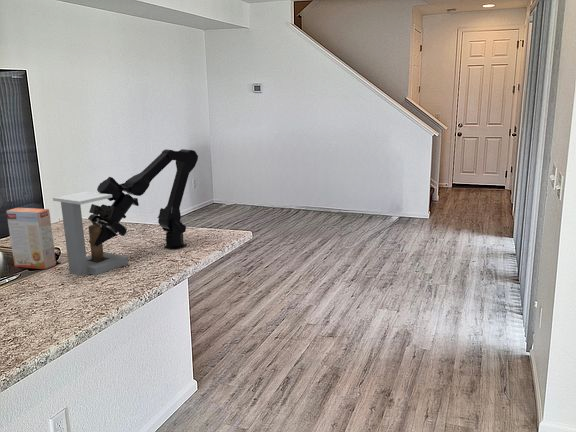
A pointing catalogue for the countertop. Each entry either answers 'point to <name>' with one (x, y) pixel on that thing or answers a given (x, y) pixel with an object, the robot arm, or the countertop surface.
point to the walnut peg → (95, 250)
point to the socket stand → (75, 236)
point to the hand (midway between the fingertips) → (92, 244)
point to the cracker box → (31, 238)
